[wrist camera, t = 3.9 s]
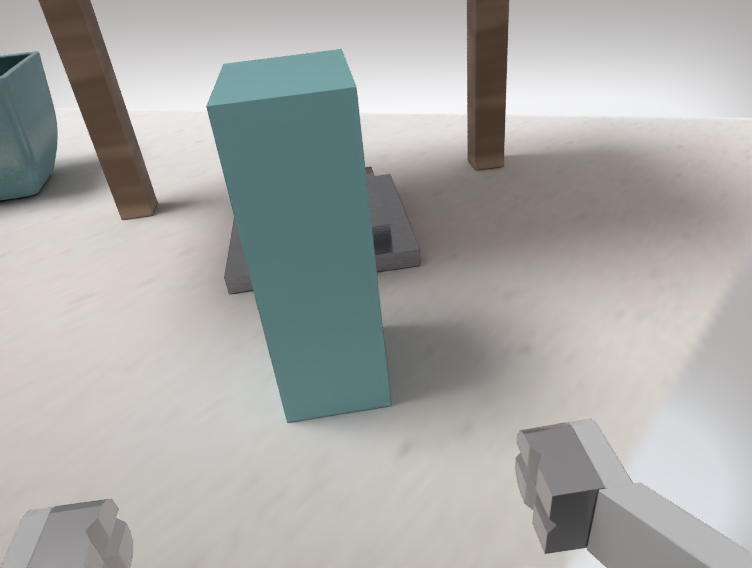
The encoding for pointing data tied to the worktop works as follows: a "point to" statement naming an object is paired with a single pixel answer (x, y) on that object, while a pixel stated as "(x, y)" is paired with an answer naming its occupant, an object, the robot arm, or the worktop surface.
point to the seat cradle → (388, 231)
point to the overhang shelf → (117, 138)
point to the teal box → (305, 226)
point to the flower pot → (25, 126)
